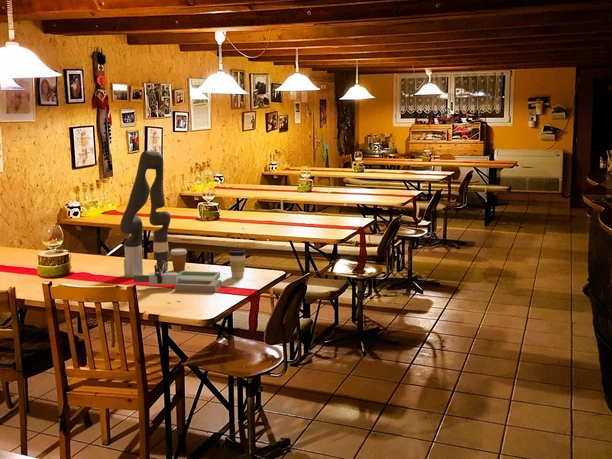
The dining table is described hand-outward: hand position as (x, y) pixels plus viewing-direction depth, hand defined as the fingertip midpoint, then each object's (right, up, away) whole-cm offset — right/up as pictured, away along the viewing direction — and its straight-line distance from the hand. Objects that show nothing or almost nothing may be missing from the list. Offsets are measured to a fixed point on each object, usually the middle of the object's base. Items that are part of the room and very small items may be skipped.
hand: (161, 281), depth 325 cm
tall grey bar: (-3, -1, 0) cm, 3 cm away
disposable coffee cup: (+2, +3, +37) cm, 37 cm away
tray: (+15, 0, +17) cm, 23 cm away
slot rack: (+19, -4, -1) cm, 20 cm away
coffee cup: (+37, 0, +22) cm, 43 cm away
